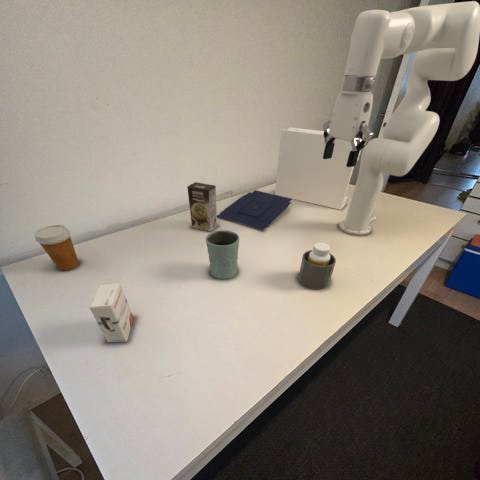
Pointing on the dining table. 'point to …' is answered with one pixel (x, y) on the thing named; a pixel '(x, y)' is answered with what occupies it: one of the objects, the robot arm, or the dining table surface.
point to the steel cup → (315, 273)
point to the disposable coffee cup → (58, 246)
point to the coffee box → (202, 206)
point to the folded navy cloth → (256, 209)
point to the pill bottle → (320, 255)
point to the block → (313, 168)
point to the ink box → (112, 312)
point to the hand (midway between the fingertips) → (338, 162)
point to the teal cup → (223, 253)
